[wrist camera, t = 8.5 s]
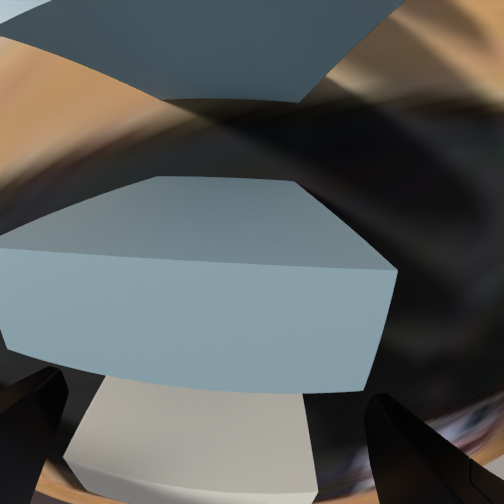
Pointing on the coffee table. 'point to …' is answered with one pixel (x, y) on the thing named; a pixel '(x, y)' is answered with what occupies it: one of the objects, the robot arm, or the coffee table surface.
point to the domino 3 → (193, 446)
